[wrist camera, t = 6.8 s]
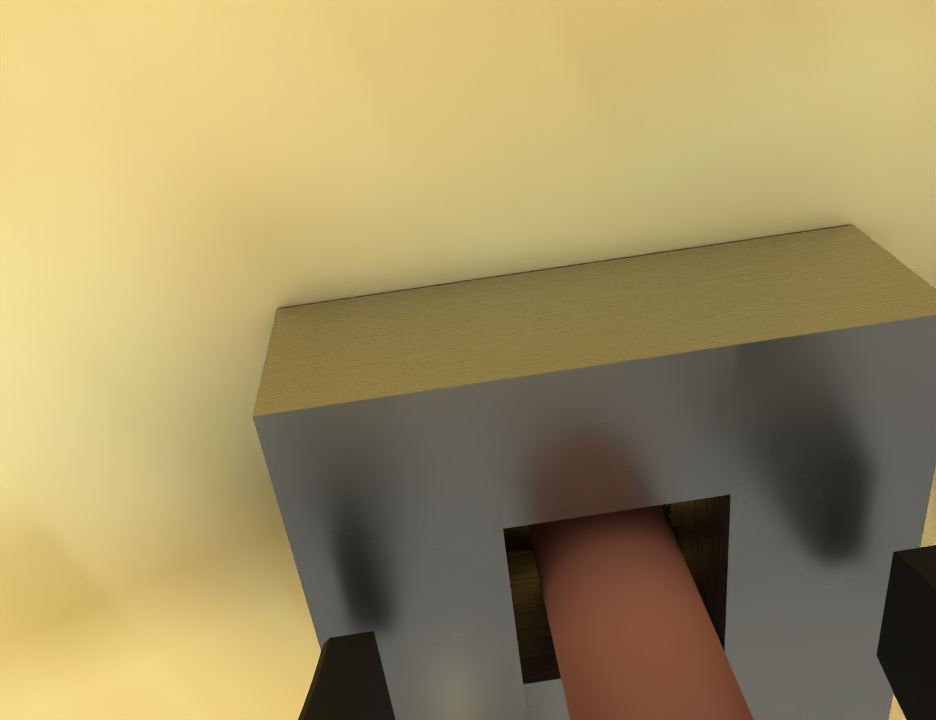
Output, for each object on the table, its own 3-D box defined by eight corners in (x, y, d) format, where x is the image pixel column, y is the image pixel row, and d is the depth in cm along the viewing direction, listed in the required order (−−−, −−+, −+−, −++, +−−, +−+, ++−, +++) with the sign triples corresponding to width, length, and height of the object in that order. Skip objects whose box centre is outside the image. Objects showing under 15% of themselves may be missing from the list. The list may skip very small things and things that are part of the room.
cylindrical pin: (648, 505, 16) (776, 812, 11) (532, 534, 16) (603, 851, 11) (630, 408, 15) (762, 699, 10) (506, 440, 15) (571, 744, 10)
